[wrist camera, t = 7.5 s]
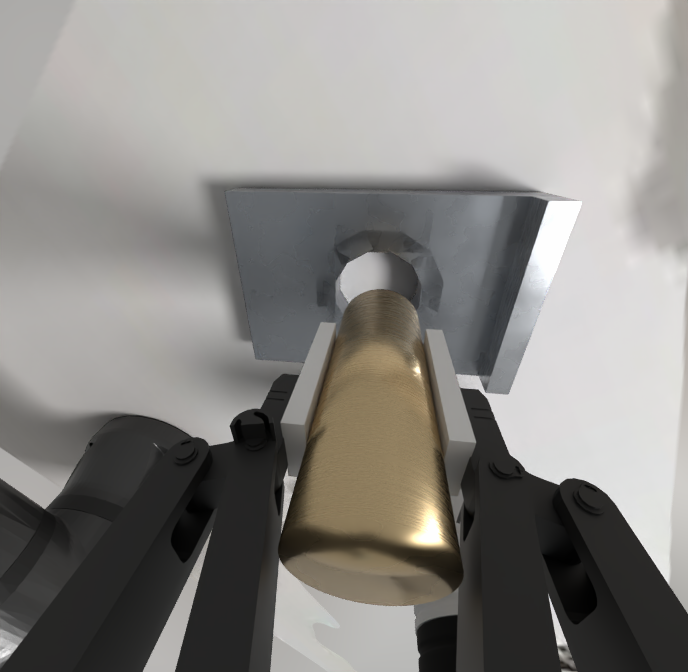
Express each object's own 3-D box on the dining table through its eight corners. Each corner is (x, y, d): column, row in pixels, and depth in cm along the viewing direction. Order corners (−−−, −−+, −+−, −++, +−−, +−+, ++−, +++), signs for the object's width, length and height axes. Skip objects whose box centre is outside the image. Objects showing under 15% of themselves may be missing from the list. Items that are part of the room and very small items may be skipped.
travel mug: (388, 388, 29) (393, 725, 12) (458, 370, 27) (585, 745, 10) (409, 431, 31) (437, 756, 14) (474, 418, 29) (595, 777, 12)
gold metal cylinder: (342, 353, 19) (286, 590, 9) (342, 287, 16) (266, 505, 6) (413, 358, 18) (444, 616, 8) (423, 291, 16) (485, 534, 6)
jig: (265, 343, 28) (246, 373, 24) (241, 187, 21) (208, 194, 17) (490, 358, 26) (508, 394, 22) (542, 192, 19) (582, 201, 15)
